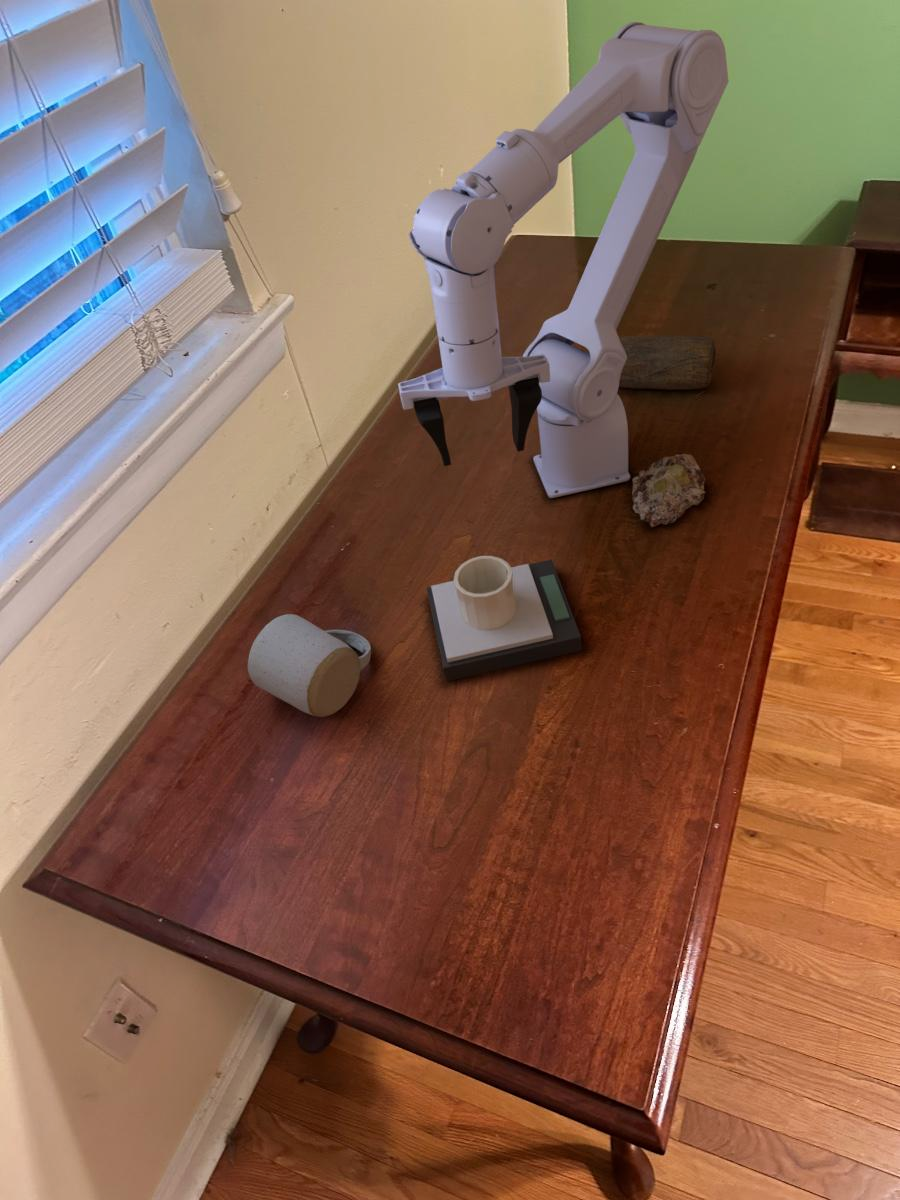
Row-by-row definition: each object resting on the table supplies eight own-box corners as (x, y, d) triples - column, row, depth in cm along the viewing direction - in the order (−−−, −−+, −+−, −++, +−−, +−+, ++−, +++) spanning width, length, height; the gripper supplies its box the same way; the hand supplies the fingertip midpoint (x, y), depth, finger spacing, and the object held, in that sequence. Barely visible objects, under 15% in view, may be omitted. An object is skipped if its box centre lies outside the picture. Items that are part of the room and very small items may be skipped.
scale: (552, 573, 87) (551, 554, 86) (582, 650, 80) (580, 632, 78) (429, 601, 87) (425, 583, 86) (446, 681, 80) (442, 663, 78)
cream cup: (493, 581, 84) (488, 547, 81) (528, 609, 81) (524, 575, 78) (449, 608, 82) (442, 575, 79) (483, 638, 79) (477, 605, 76)
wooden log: (714, 370, 109) (718, 321, 104) (711, 400, 104) (715, 351, 99) (597, 369, 113) (595, 323, 108) (589, 399, 108) (586, 351, 104)
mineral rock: (642, 445, 96) (711, 440, 91) (652, 476, 99) (720, 473, 94) (607, 506, 90) (679, 505, 85) (619, 537, 93) (690, 537, 88)
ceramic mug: (323, 737, 77) (301, 683, 72) (260, 703, 81) (234, 649, 76) (394, 659, 83) (378, 604, 77) (332, 630, 87) (313, 576, 81)
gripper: (396, 365, 75) (418, 489, 85) (555, 334, 76) (560, 460, 85) (387, 330, 81) (409, 450, 90) (537, 301, 81) (543, 423, 90)
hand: (482, 453), depth 88 cm, fingers open, 7 cm apart
